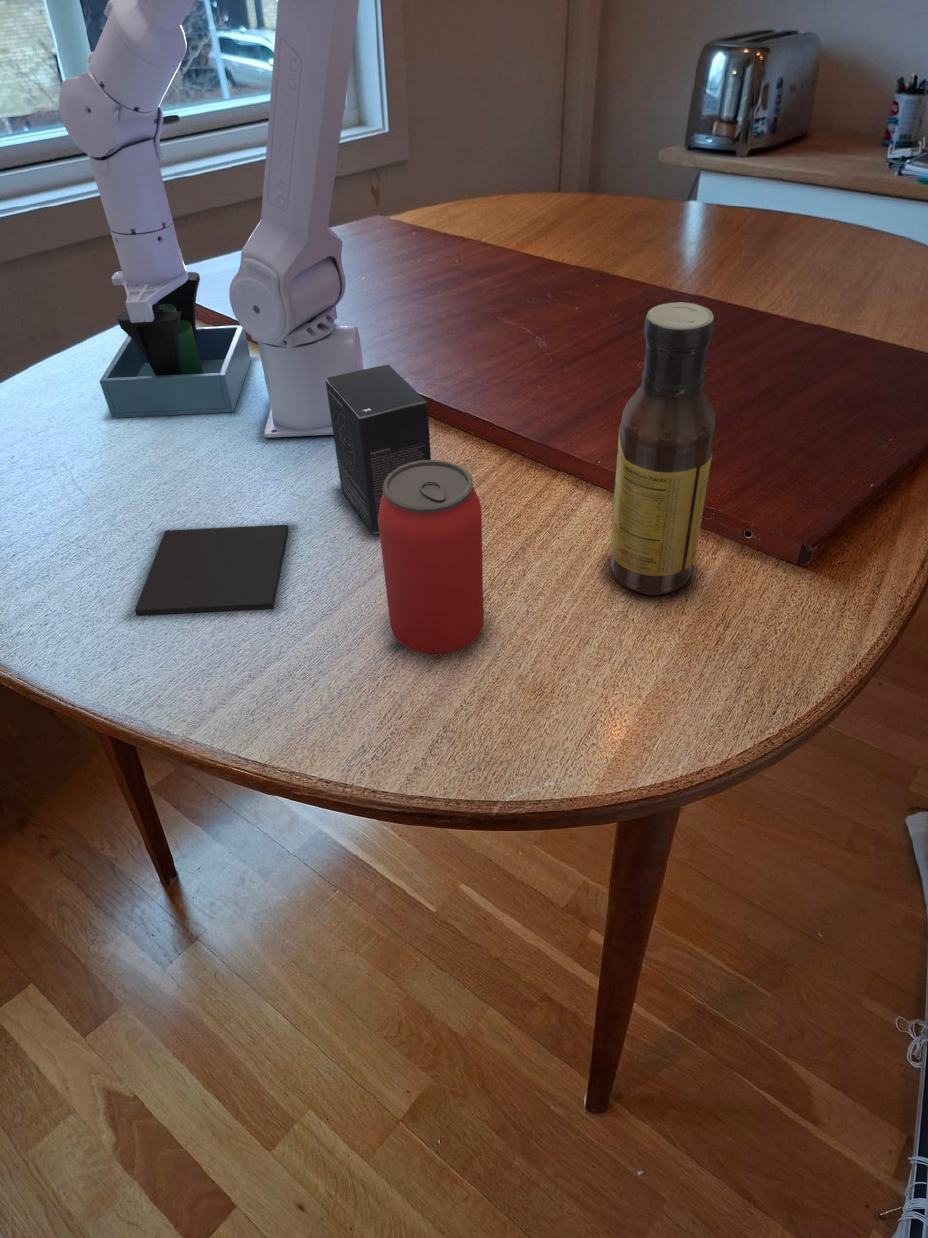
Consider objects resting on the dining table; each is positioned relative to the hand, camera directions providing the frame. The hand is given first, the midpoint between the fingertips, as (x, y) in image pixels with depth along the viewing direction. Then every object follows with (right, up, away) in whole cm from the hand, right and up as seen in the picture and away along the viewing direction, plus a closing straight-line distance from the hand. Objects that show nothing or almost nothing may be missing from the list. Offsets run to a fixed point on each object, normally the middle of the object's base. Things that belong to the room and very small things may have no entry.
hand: (178, 363), depth 88 cm
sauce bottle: (+44, -23, -24) cm, 55 cm away
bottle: (0, -2, +1) cm, 2 cm away
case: (0, -2, +2) cm, 3 cm away
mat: (+10, -23, -22) cm, 33 cm away
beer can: (+28, -27, -28) cm, 48 cm away
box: (+23, -17, -16) cm, 33 cm away
